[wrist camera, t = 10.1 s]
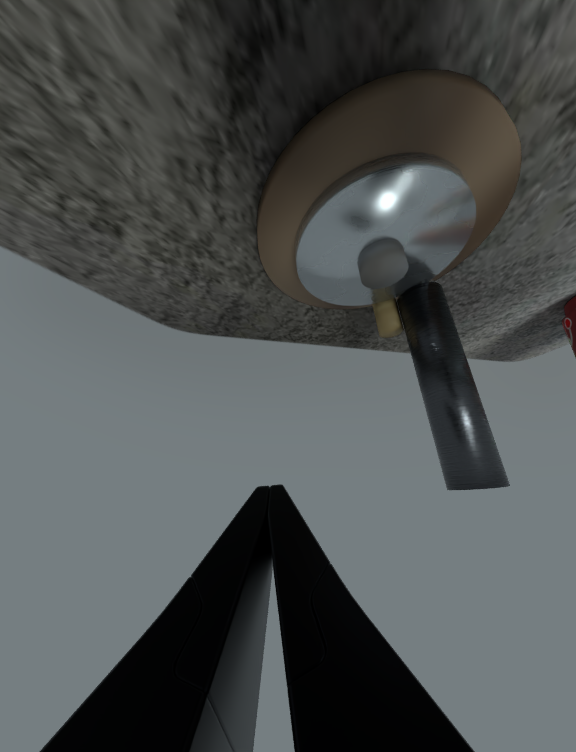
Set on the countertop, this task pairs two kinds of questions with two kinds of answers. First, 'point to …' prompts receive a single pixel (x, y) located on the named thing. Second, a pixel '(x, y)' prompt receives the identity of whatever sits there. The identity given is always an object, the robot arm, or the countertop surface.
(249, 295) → the countertop surface
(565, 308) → the smoothie
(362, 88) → the base plate
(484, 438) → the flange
